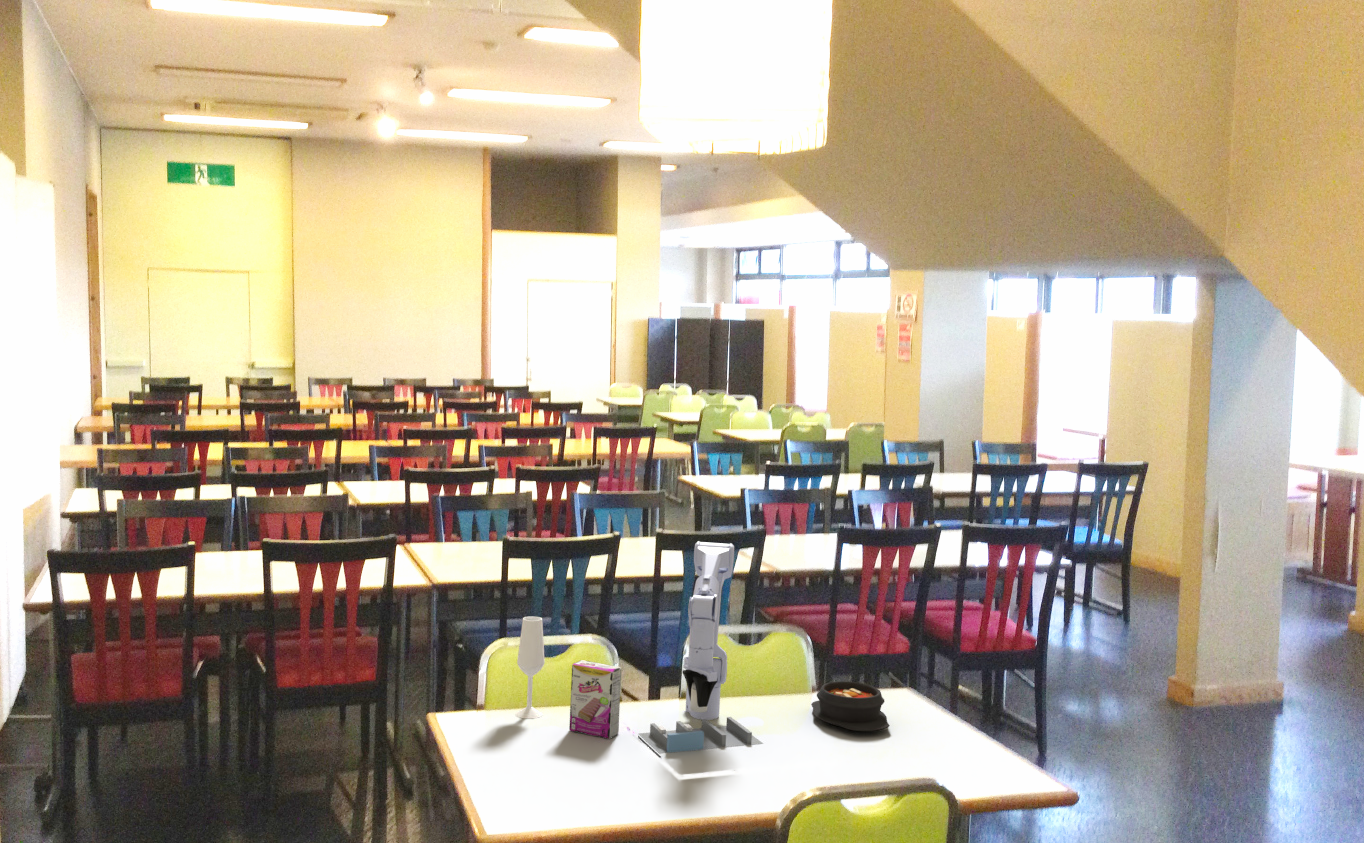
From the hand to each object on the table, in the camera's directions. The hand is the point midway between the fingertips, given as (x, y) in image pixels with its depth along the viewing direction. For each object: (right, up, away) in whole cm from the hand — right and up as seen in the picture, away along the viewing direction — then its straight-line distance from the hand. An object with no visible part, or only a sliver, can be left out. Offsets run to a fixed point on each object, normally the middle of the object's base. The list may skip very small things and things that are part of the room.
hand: (698, 703), depth 282 cm
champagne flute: (-42, -7, +16) cm, 45 cm away
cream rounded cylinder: (0, -1, 0) cm, 1 cm away
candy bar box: (-25, -8, +5) cm, 27 cm away
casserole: (+38, -10, +22) cm, 45 cm away
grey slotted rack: (0, -9, +1) cm, 10 cm away
